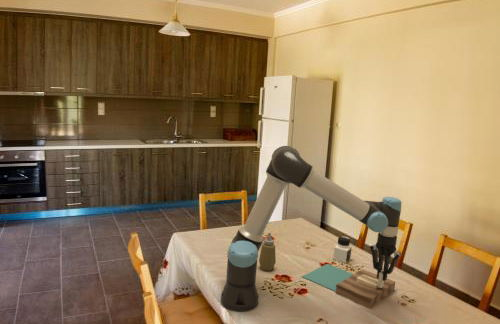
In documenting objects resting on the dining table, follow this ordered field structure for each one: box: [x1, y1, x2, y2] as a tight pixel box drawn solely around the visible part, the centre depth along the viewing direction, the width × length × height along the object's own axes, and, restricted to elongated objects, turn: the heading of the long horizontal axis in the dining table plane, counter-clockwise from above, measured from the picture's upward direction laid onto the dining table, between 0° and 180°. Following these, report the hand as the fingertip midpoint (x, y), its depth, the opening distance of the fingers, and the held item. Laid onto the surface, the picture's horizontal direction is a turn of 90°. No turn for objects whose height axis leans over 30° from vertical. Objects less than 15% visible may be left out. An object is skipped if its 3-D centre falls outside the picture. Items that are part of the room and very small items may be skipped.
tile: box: [356, 274, 379, 290], centre depth 169 cm, size 6×9×2 cm, turn 47°
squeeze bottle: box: [258, 232, 277, 272], centre depth 186 cm, size 8×8×18 cm
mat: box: [301, 263, 355, 293], centre depth 182 cm, size 22×18×1 cm
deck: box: [335, 268, 396, 309], centre depth 170 cm, size 24×16×4 cm, turn 137°
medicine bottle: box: [332, 236, 352, 264], centre depth 203 cm, size 7×7×12 cm
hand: (380, 286), depth 166 cm, fingers closed
